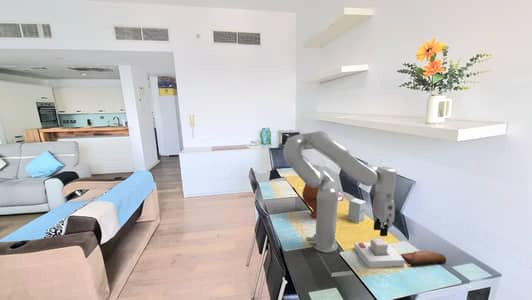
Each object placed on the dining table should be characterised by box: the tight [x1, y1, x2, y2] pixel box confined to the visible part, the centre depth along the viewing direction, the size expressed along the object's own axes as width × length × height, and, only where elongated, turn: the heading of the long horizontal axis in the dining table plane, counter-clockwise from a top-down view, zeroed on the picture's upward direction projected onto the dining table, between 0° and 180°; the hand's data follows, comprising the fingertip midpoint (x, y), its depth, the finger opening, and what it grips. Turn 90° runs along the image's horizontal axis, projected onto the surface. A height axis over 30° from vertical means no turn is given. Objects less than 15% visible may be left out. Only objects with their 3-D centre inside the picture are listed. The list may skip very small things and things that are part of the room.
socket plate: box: [353, 241, 406, 269], centre depth 104 cm, size 16×14×4 cm
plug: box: [370, 237, 389, 256], centre depth 103 cm, size 5×5×8 cm
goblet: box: [302, 183, 319, 220], centre depth 141 cm, size 19×19×25 cm
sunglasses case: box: [399, 250, 447, 267], centre depth 102 cm, size 18×7×7 cm
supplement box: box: [347, 197, 367, 224], centre depth 139 cm, size 7×7×13 cm
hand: (380, 232), depth 102 cm, fingers open, 4 cm apart
